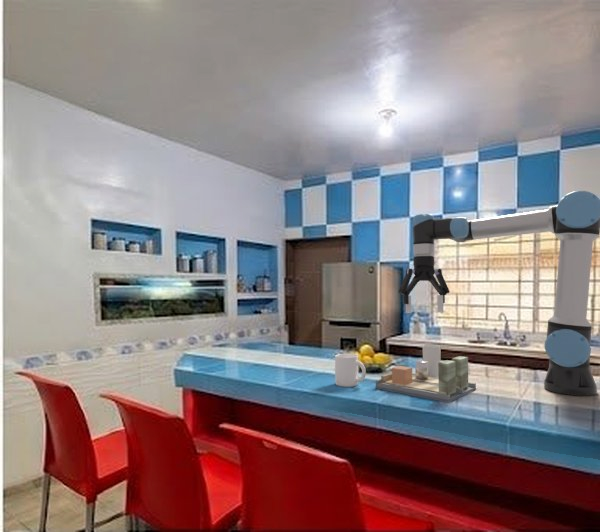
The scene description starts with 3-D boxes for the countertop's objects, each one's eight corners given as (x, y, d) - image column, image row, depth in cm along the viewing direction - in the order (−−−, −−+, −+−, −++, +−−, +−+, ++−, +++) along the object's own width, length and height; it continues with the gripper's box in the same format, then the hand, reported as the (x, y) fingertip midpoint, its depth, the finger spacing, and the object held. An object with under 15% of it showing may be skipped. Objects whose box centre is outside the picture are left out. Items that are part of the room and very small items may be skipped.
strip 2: (469, 386, 146) (468, 356, 146) (460, 390, 141) (459, 359, 141) (406, 376, 162) (406, 349, 162) (396, 379, 156) (396, 352, 157)
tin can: (430, 378, 154) (430, 361, 154) (424, 380, 151) (424, 363, 151) (419, 376, 157) (418, 360, 157) (413, 378, 154) (413, 361, 154)
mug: (371, 385, 152) (371, 356, 152) (358, 390, 145) (358, 359, 146) (343, 380, 159) (343, 352, 160) (330, 384, 153) (330, 355, 154)
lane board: (475, 389, 146) (475, 381, 147) (448, 402, 130) (448, 393, 130) (407, 377, 164) (407, 370, 164) (375, 388, 148) (375, 380, 148)
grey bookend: (436, 379, 161) (436, 347, 162) (420, 377, 166) (419, 345, 166) (446, 375, 169) (446, 344, 170) (430, 372, 173) (430, 343, 174)
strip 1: (456, 392, 138) (456, 360, 139) (446, 396, 133) (446, 364, 133) (392, 380, 154) (392, 353, 155) (381, 384, 149) (381, 355, 149)
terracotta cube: (412, 382, 148) (412, 367, 148) (405, 384, 144) (405, 369, 144) (399, 380, 151) (399, 365, 151) (392, 382, 147) (391, 367, 147)
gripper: (446, 257, 168) (447, 311, 167) (388, 256, 161) (389, 312, 160) (458, 255, 160) (459, 312, 160) (398, 254, 153) (399, 314, 153)
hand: (424, 312), depth 160 cm, fingers open, 13 cm apart
